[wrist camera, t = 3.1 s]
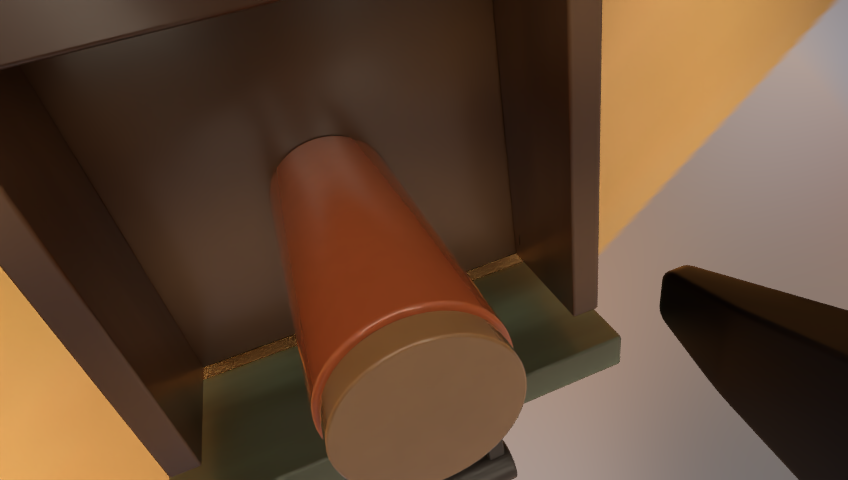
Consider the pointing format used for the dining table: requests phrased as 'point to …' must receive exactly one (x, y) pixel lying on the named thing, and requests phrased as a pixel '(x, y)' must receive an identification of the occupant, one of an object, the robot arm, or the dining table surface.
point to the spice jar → (387, 321)
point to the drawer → (250, 212)
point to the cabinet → (95, 23)
